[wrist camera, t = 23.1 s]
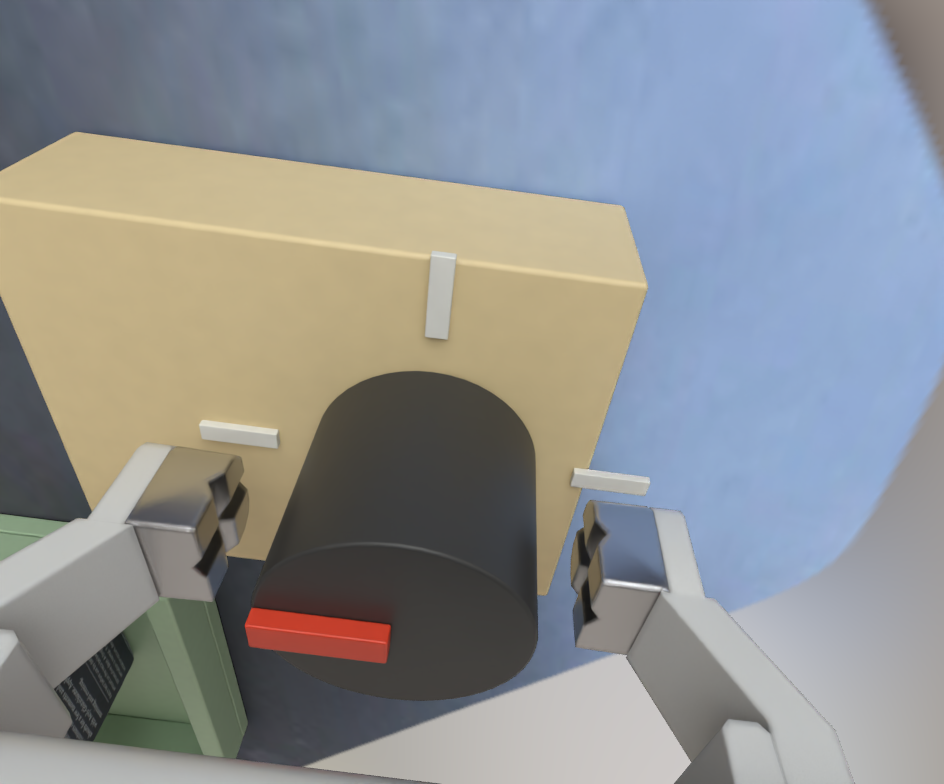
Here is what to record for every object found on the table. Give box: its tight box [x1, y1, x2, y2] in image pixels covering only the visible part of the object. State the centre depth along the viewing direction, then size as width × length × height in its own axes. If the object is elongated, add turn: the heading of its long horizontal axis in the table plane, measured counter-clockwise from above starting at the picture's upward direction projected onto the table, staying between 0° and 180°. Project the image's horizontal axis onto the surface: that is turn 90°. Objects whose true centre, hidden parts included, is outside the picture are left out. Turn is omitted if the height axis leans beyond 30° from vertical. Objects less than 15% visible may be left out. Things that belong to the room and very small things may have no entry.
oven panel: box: [0, 132, 650, 596], centre depth 12 cm, size 11×8×3 cm
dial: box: [245, 371, 538, 701], centre depth 10 cm, size 4×4×4 cm
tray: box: [0, 514, 248, 759], centre depth 22 cm, size 15×13×2 cm
